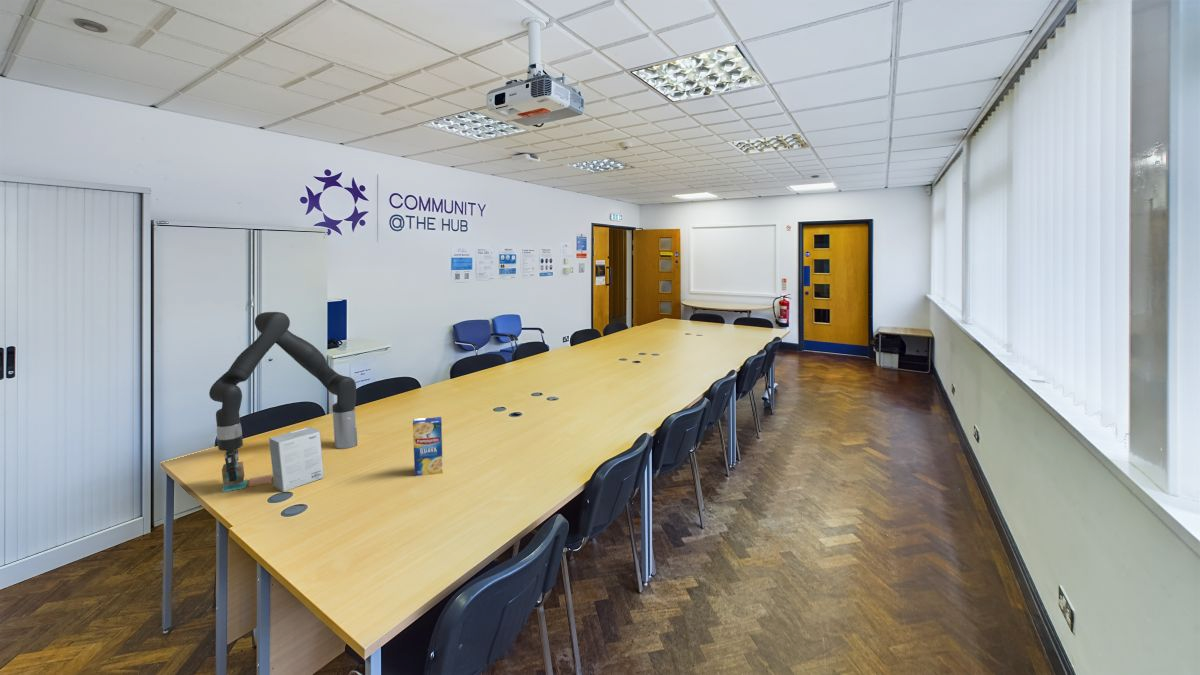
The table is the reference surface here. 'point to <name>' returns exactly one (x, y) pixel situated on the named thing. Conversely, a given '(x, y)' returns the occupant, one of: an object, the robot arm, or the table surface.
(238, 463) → the cube
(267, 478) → the pad terracotta
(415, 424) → the blue food box
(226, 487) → the pad teal
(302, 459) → the hard drive box
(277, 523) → the table surface
